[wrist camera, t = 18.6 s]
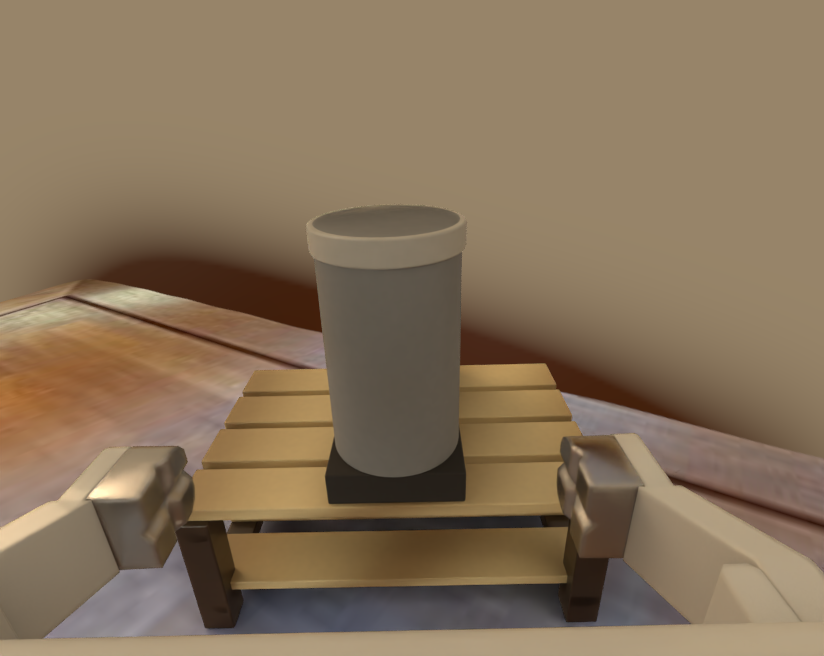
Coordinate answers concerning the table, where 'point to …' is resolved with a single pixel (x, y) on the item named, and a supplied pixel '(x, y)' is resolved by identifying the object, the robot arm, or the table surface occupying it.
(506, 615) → the table surface
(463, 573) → the shoe rack
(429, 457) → the grey vase on base
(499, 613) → the table surface
